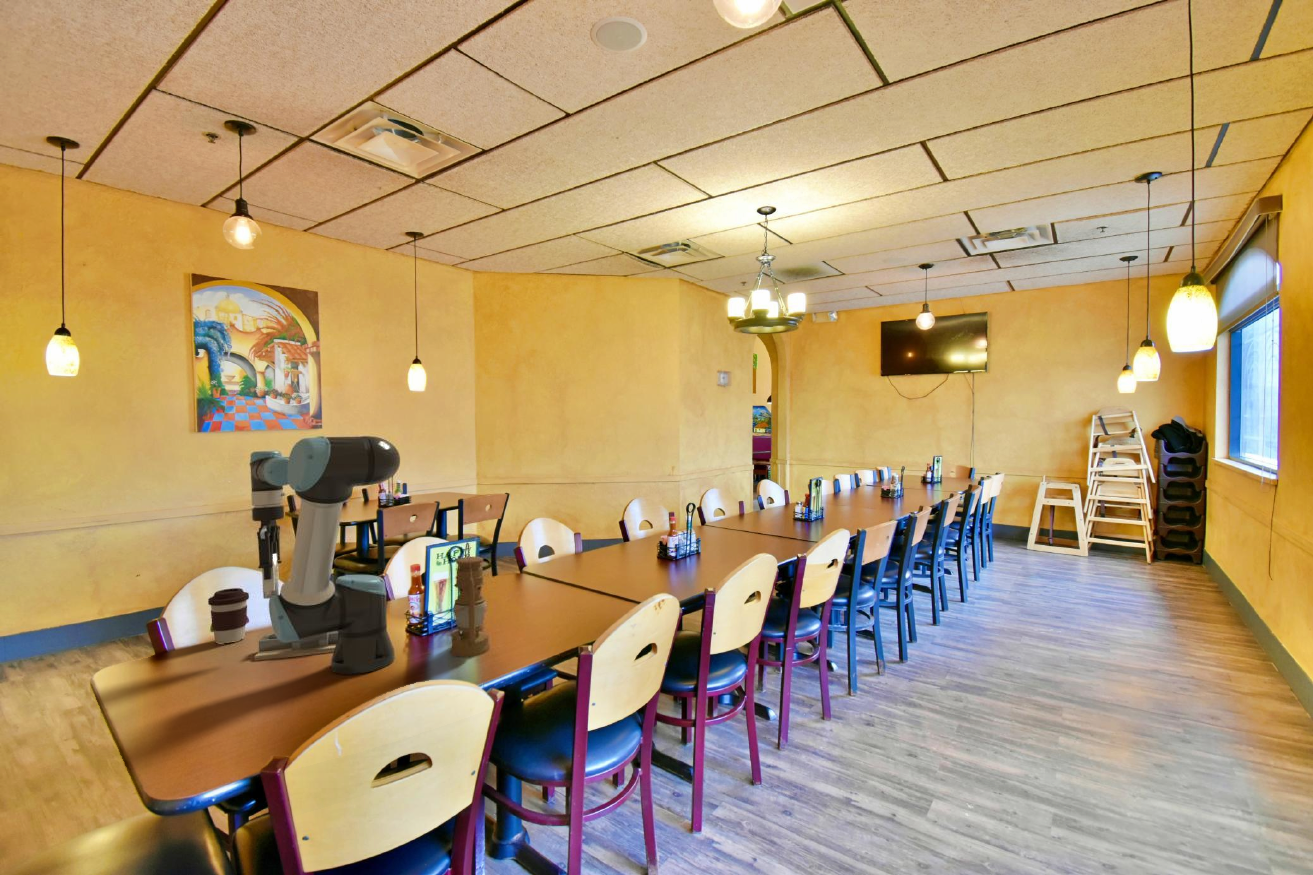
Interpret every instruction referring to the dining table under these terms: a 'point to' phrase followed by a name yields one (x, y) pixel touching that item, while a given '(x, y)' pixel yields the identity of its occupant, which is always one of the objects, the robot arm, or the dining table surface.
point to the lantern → (469, 609)
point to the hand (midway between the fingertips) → (271, 589)
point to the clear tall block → (276, 592)
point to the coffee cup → (229, 614)
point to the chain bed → (293, 653)
